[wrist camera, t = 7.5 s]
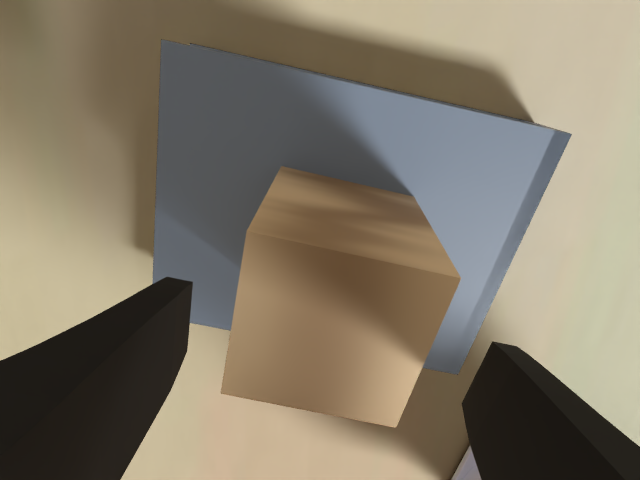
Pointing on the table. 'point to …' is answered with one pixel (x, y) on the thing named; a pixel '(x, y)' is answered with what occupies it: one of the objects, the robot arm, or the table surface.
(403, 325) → the oak block
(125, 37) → the table surface
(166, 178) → the book
